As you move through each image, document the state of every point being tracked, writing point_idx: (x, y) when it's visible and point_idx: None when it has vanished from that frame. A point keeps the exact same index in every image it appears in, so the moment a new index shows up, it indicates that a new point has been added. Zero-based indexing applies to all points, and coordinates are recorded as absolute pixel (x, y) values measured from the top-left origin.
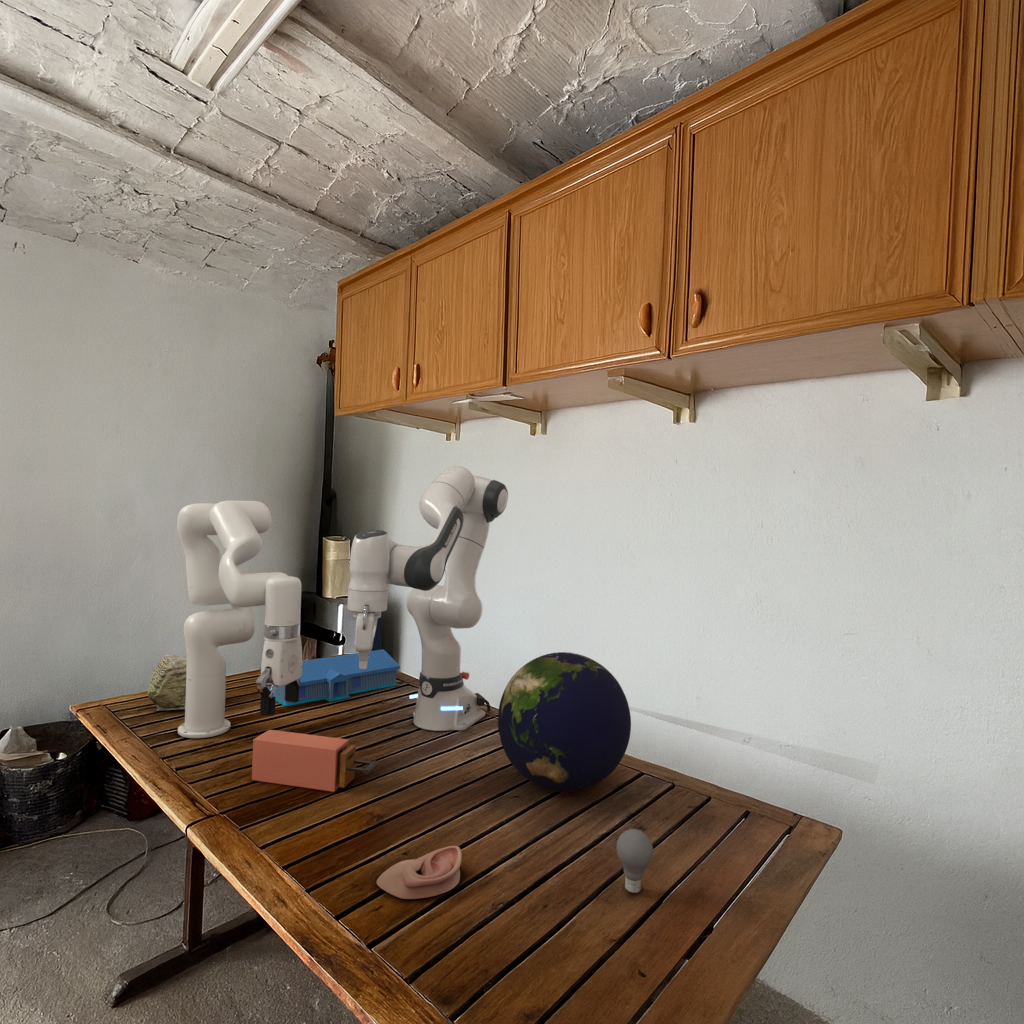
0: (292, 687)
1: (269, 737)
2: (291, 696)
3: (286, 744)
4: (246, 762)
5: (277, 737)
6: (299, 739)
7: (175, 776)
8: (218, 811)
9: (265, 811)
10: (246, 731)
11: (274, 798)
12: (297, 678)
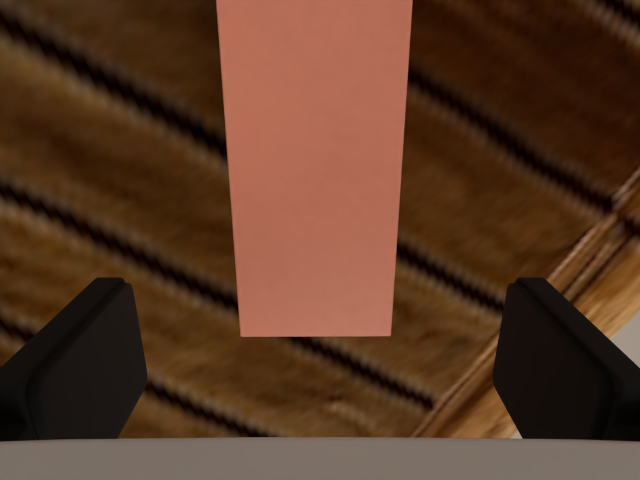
0: (67, 419)
1: (342, 279)
2: (118, 356)
3: (402, 141)
4: (245, 345)
5: (329, 240)
6: (319, 102)
7: None
8: (600, 223)
9: (589, 68)
10: None
11: (485, 94)
12: (81, 444)
